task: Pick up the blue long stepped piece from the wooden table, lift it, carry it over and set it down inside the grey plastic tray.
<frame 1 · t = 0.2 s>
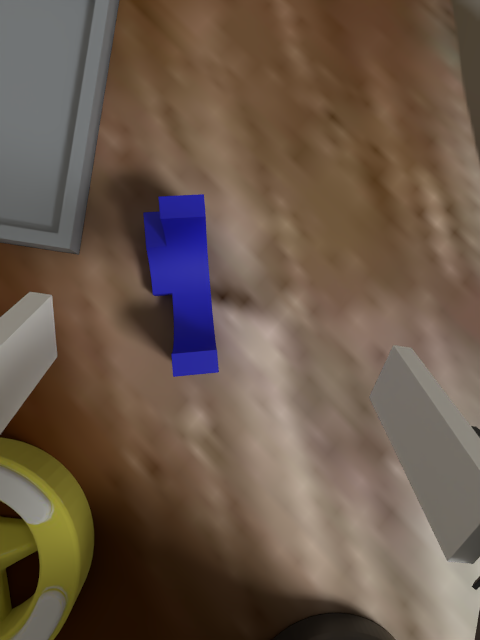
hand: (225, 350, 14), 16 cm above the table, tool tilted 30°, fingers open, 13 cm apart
tray: (4, 104, 29), on the table
blue long stepped piece: (183, 294, 30), on the table
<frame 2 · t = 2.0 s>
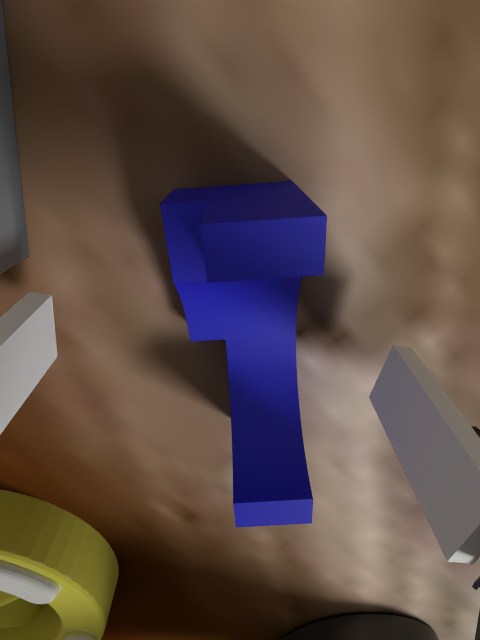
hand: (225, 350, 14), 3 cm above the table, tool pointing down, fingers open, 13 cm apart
blue long stepped piece: (242, 319, 17), on the table
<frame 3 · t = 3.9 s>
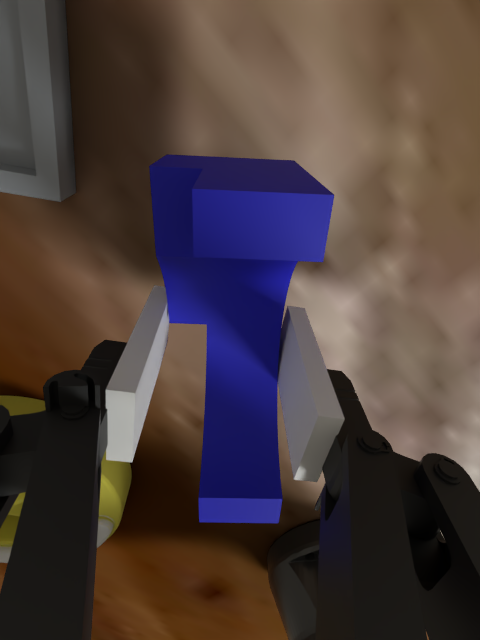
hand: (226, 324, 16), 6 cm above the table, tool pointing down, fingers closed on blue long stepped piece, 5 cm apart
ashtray: (13, 463, 31), on the table
blue long stepped piece: (226, 305, 16), point 6 cm above the table, touching gripper
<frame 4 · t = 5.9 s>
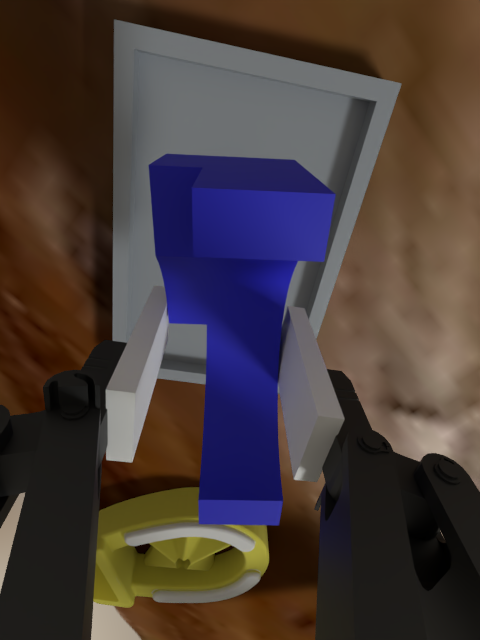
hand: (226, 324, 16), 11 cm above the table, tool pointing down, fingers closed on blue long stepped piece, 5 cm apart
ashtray: (180, 528, 43), on the table
tray: (229, 246, 25), on the table
blue long stepped piece: (226, 305, 16), point 11 cm above the table, touching gripper
when the fingers open (1 cm above the table, at t = 7.8 s): blue long stepped piece stays where it is, resting on tray.
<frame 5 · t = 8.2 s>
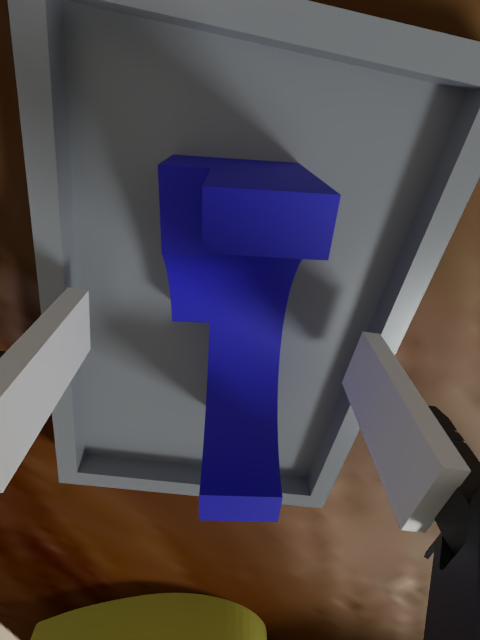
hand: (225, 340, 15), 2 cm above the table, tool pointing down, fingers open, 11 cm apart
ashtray: (158, 630, 35), on the table
tray: (226, 311, 17), on the table
blue long stepped piece: (228, 304, 16), point 1 cm above the table, touching tray
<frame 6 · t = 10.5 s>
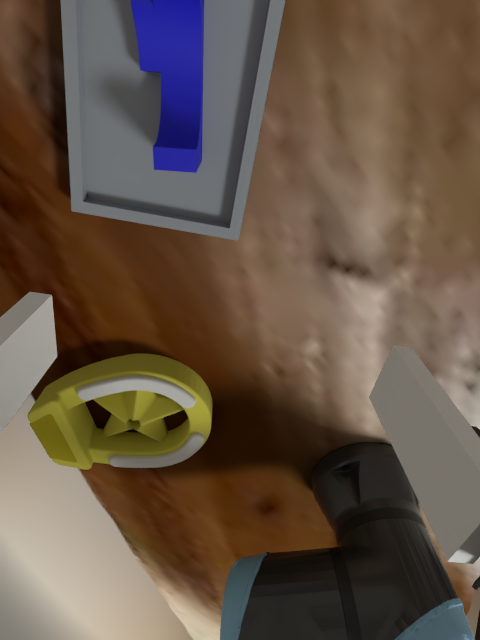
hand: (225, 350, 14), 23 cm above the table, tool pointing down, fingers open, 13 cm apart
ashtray: (134, 402, 48), on the table
tray: (171, 84, 29), on the table
blue long stepped piece: (174, 74, 28), point 1 cm above the table, touching tray
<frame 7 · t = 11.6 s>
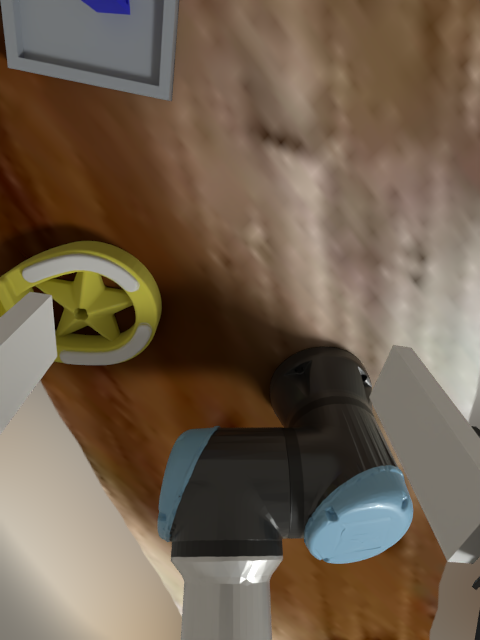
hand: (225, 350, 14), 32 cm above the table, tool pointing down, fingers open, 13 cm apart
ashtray: (85, 300, 49), on the table
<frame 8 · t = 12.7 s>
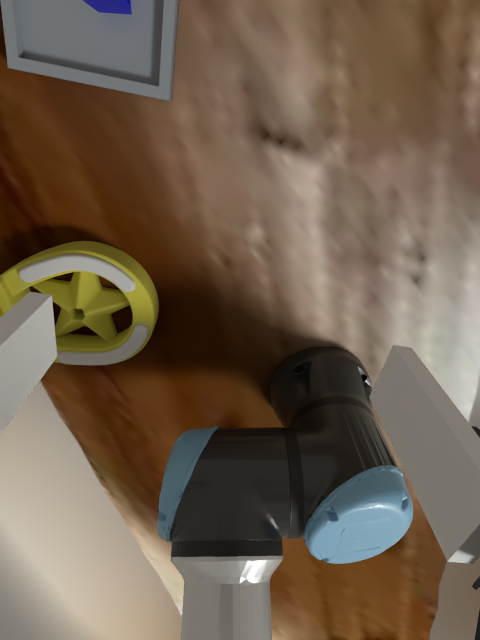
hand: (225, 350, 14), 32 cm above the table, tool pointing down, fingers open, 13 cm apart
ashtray: (82, 301, 49), on the table
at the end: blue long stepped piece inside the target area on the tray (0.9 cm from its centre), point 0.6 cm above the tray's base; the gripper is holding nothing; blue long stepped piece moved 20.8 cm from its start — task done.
